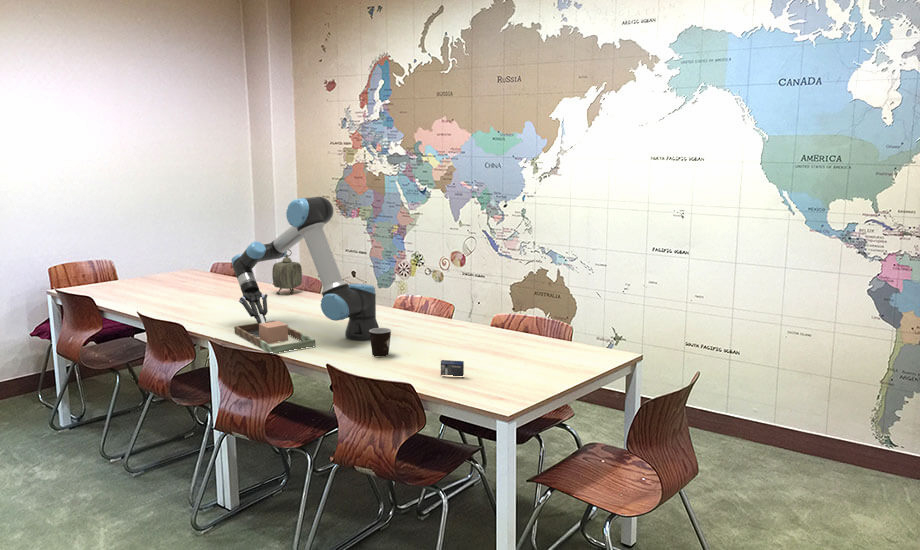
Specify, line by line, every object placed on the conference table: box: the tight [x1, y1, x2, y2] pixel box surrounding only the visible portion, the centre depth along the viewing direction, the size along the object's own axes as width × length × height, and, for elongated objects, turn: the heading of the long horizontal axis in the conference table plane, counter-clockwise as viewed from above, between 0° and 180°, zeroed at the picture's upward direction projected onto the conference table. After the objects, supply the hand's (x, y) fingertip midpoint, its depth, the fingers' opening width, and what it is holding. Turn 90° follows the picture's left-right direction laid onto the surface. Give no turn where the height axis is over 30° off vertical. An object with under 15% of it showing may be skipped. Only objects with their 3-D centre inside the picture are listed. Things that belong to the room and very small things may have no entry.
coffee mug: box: [369, 327, 392, 357], centre depth 304 cm, size 12×9×10 cm
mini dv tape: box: [440, 359, 465, 376], centre depth 277 cm, size 8×2×6 cm, turn 80°
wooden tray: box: [234, 320, 316, 354], centre depth 328 cm, size 42×19×3 cm, turn 36°
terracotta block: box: [258, 320, 289, 345], centre depth 328 cm, size 9×9×7 cm
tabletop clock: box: [271, 249, 303, 296], centre depth 424 cm, size 14×9×25 cm, turn 144°
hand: (264, 328), depth 335 cm, fingers closed
